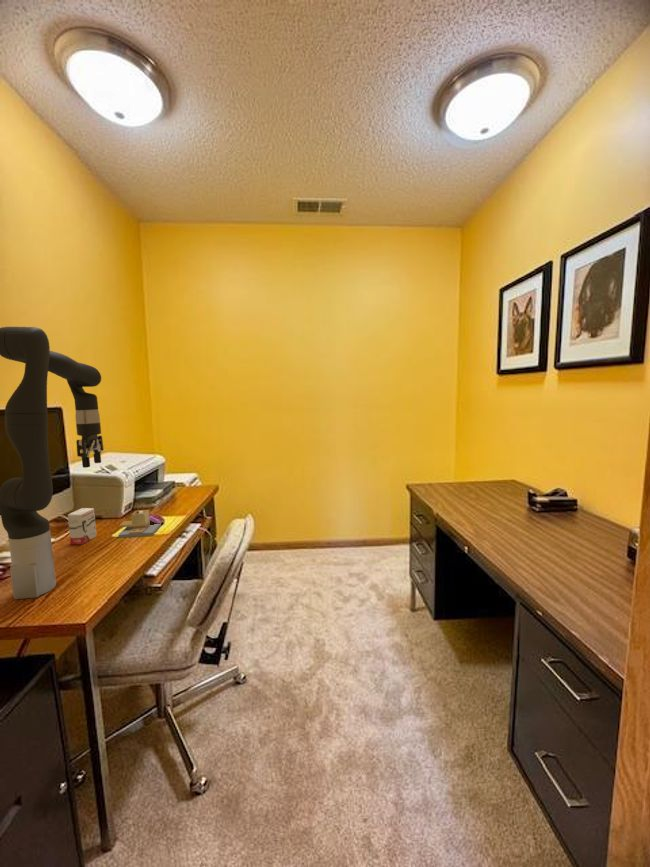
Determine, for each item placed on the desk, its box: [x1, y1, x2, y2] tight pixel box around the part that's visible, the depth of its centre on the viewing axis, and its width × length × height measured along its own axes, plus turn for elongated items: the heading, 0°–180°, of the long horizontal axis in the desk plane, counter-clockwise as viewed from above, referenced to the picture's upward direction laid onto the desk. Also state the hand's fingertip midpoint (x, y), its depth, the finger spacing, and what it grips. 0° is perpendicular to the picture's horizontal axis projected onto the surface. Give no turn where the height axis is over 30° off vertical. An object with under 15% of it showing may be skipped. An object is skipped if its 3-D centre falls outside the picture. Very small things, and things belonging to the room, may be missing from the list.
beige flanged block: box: [118, 509, 150, 528], centre depth 148 cm, size 10×5×5 cm, turn 98°
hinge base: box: [117, 510, 165, 539], centre depth 149 cm, size 14×13×8 cm
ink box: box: [67, 507, 98, 546], centre depth 139 cm, size 9×5×12 cm, turn 179°
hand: (92, 465), depth 135 cm, fingers open, 8 cm apart
